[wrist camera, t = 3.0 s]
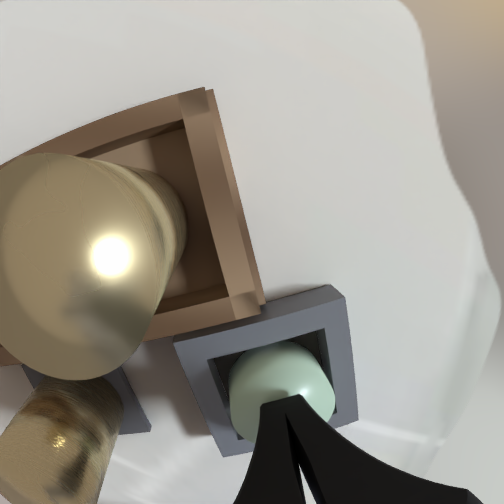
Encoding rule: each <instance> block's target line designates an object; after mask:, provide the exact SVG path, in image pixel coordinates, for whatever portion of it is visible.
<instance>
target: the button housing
mask: <svg viewBox="0 0 504 504" xmlns="http://www.w3.org/2000/svg"><path fill="white" fill-rule="evenodd" d="M259 307H260V311H261V314H258V315H254V316H250V317H246V318H242V319H239V320H235V321H231V322H227V323H223V324H219V325H215V326H211V327H206V328H202V329H198V330H194V331H190V332H185V333H181V334H177V335H175V337H174V341H173V345H174V347H175V350H176V352H177V355H178V358H179V360H180V363H181V365H182V367H183V370H184V372H185V375H186V377H187V380H188V382H189V384H190V387H191V389H192V392H193V394H194V396H195V398H196V401H197V403H198V405H199V408H200V410H201V412H202V414H203V416H204V419H205V421H206V423H207V425H208V427H209V429H210V432H211V434H212V436H213V438H214V440H215V442H216V444H217V446H218V448H219V450H220V452H221V454H222V456H223V457H228V456H233V455H238V454H243V453H248V452H252V451H254V447H255V444H254V443H251V442H249V441H247V440H246V439H244V438H243V437H242V436H241V435H240V434H239V433H238V432H237V431H236V430H235V428H234V426H233V424H232V420H231V410H230V402H229V400H228V397H227V394H226V392H225V389H224V386H223V384H222V381H221V378H220V375H219V373H218V370H217V367H216V364H215V361H214V359H213V358H215V357H220V356H224V355H228V354H232V353H236V352H240V351H244V350H248V349H252V348H256V347H260V346H263V345H267V344H271V343H275V342H278V341H282V340H285V339H289V338H292V337H296V336H299V335H303V334H306V333H309V332H313V331H316V332H317V338H318V343H319V349H320V355H321V360H322V366H323V372H324V374H325V376H326V378H327V379H328V381H329V383H330V385H331V387H332V389H333V391H334V394H335V407H334V411H333V413H332V416H331V418H330V419H329V421H328V422H327V423H328V424H329V425H330V426H331V427H332V428H333V429H335V428H338V427H341V426H344V425H347V424H349V423H352V422H355V421H357V420H358V406H357V394H356V383H355V373H354V363H353V354H352V345H351V337H350V329H349V322H348V314H347V307H346V300H345V297H344V296H343V295H342V294H341V293H340V292H339V291H338V290H337V289H335V288H334V287H333V286H332V285H331V284H330V285H327V286H323V287H320V288H317V289H313V290H310V291H306V292H303V293H299V294H296V295H292V296H288V297H285V298H281V299H278V300H274V301H270V302H267V303H266V304H263V305H260V306H259Z"/></svg>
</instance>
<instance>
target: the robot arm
mask: <svg viewBox="0 0 504 504" xmlns="http://www.w3.org/2000/svg"><path fill="white" fill-rule="evenodd" d="M299 465H300V468H301V470H302V472H303V474H304V477H305V479H306V481H307V484H308V486H309V488H310V490H311V492H312V495H313V497H314V499H315V501H316V504H483V503H482V502H481V501H480V500H479V499H478V498H477V497H476V496H475V495H474V494H472V493H471V492H470V491H469V490H467V489H464V488H457V487H453V486H447V485H443V484H439V483H435V482H432V481H429V480H426V479H422V478H419V477H416V476H414V475H411V474H409V473H406V472H404V471H401V470H399V469H397V468H394V467H392V466H390V465H388V464H386V463H384V462H382V461H380V460H378V459H376V458H375V457H373V456H371V455H369V454H368V453H366V452H364V451H363V450H361V449H360V448H358V447H357V446H355V445H354V444H353V443H351V442H350V441H348V440H347V439H346V438H344V437H343V436H342V435H341V434H339V433H338V432H337V431H336V430H335V429H333V428H332V427H331V426H330V425H329V424H328V423H327V422H326V421H324V420H323V419H322V418H321V417H320V416H319V415H318V414H317V413H316V411H315V410H314V409H313V408H312V407H311V406H310V405H309V404H308V402H307V401H306V400H305V398H304V397H303V395H300V394H296V395H293V396H289V397H286V398H282V399H279V400H275V401H271V402H267V403H263V404H262V405H261V406H260V419H259V427H258V433H257V438H256V443H255V447H254V451H253V455H252V458H251V461H250V464H249V468H248V471H247V474H246V476H245V479H244V481H243V484H242V486H241V489H240V491H239V493H238V495H237V497H236V499H235V501H234V503H233V504H306V501H305V495H304V490H303V484H302V479H301V473H300V468H299Z"/></svg>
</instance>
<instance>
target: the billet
mask: <svg viewBox="0 0 504 504" xmlns="http://www.w3.org/2000/svg"><path fill="white" fill-rule="evenodd" d="M123 418H124V406H123V403H122V400H121V398H120V396H119V394H118V393H117V391H116V390H115V388H114V387H113V386H112V385H111V384H110V383H109V382H108V381H107V380H106V379H105V378H104V377H102V376H100V377H96V378H92V379H87V380H65V379H59V378H55V377H51V376H48V375H45V376H44V378H43V379H42V380H41V381H40V383H39V384H38V385H37V387H36V388H35V389H34V391H33V392H32V393H31V395H30V396H29V397H28V399H27V400H26V401H25V403H24V404H23V405H22V407H21V408H20V409H19V411H18V412H17V413H16V415H15V416H14V418H13V419H12V420H11V422H10V423H9V425H8V426H7V427H6V429H5V430H4V432H3V433H2V435H1V436H0V494H1V495H2V496H4V497H5V498H6V499H7V500H8V501H9V502H10V503H12V504H97V501H98V498H99V494H100V491H101V487H102V484H103V481H104V477H105V474H106V471H107V467H108V464H109V461H110V458H111V455H112V452H113V448H114V445H115V442H116V439H117V436H118V433H119V430H120V427H121V424H122V421H123Z"/></svg>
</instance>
